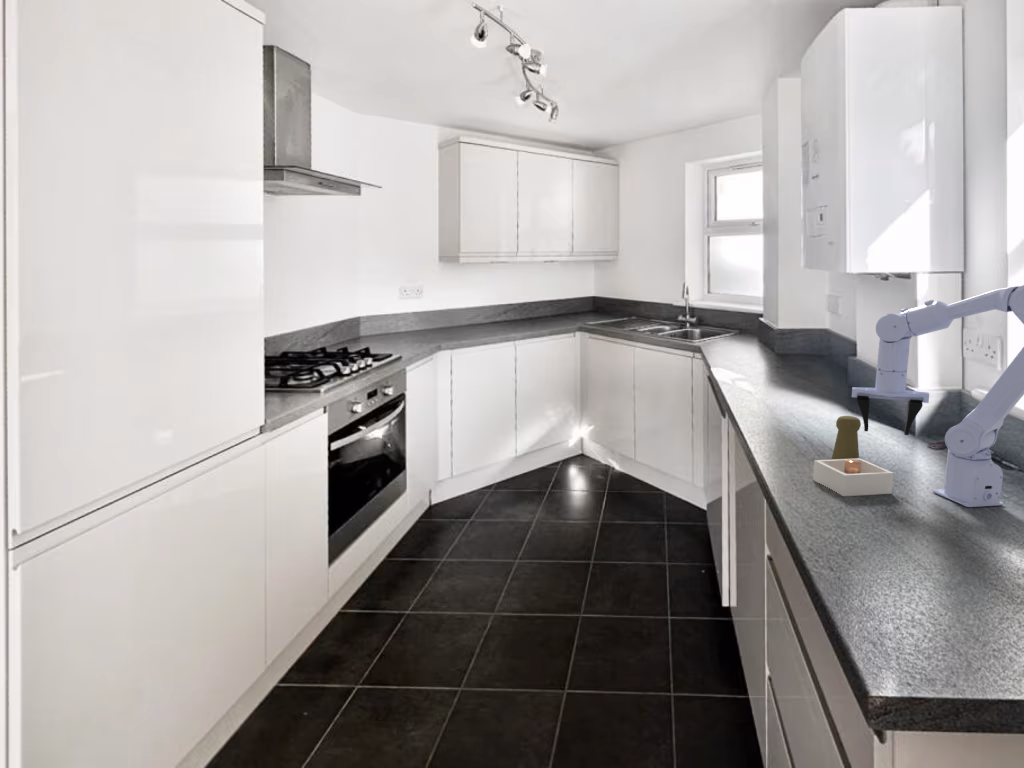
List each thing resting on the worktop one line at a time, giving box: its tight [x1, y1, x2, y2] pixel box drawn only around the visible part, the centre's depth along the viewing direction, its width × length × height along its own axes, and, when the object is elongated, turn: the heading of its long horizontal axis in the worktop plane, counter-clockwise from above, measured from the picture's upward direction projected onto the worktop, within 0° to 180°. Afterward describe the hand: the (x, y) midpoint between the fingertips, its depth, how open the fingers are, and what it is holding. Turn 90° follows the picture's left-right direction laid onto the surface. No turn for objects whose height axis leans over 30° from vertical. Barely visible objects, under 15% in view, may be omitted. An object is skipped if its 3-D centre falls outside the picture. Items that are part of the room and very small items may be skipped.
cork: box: [830, 415, 861, 460], centre depth 165 cm, size 6×6×11 cm
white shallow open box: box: [812, 457, 894, 497], centre depth 149 cm, size 13×11×4 cm
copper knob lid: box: [844, 459, 862, 474], centre depth 148 cm, size 9×9×5 cm
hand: (885, 432), depth 152 cm, fingers open, 7 cm apart
